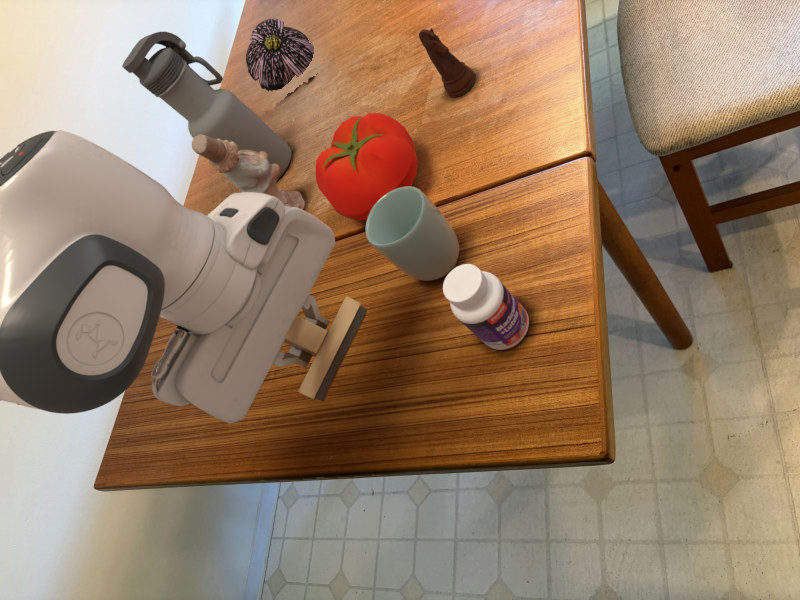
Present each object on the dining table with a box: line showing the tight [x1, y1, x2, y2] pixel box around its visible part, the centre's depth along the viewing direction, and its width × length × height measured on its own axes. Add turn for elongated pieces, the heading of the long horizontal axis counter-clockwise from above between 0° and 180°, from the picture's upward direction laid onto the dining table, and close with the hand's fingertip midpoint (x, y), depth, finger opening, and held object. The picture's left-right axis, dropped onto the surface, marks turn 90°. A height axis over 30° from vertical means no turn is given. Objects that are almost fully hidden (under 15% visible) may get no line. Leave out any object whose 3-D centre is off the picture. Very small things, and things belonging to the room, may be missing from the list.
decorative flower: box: [245, 18, 315, 92], centre depth 109 cm, size 14×12×15 cm
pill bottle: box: [442, 263, 530, 351], centre depth 54 cm, size 5×5×10 cm
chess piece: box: [418, 27, 476, 98], centre depth 77 cm, size 5×5×10 cm
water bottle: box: [121, 31, 292, 181], centre depth 91 cm, size 10×10×28 cm
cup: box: [365, 186, 460, 282], centre depth 63 cm, size 8×8×10 cm
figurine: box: [191, 134, 306, 210], centre depth 83 cm, size 9×8×20 cm
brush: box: [283, 295, 368, 402], centre depth 54 cm, size 10×5×7 cm
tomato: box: [315, 112, 419, 221], centre depth 76 cm, size 14×16×10 cm
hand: (314, 343), depth 56 cm, fingers closed on brush, 2 cm apart
